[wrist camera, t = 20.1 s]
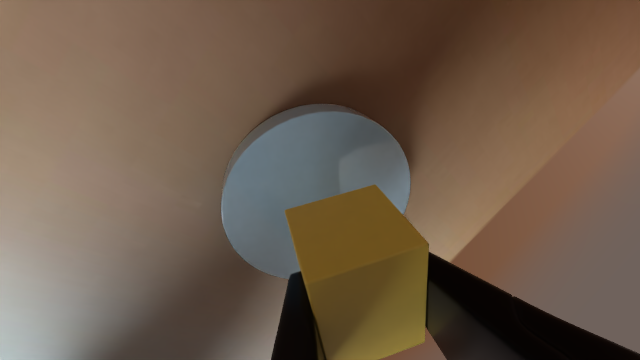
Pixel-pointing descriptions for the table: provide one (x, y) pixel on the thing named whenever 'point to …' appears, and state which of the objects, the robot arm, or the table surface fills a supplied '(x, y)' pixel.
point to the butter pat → (361, 273)
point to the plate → (303, 176)
